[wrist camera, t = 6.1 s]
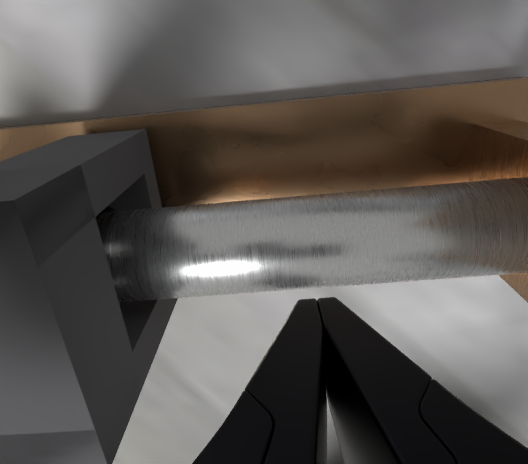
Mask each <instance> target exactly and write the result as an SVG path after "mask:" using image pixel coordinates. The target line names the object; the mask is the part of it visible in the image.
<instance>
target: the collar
mask: <svg viewBox="0 0 528 464" xmlns="http://www.w3.org/2000/svg"><path fill="white" fill-rule="evenodd" d="M107 206H109V207H112V208H113V209H115V210H116V211H128V210H139V209H151V208H162V205H161V200H160V195H159V190H158V185H157V180H156V176H155V171H154V166H153V161H152V156H151V151H150V146H149V141H148V136H147V132H146V129H139V130H129V131H118V132H108V133H97V134H87V135H76V136H68V137H65V138H62V139H60V140H57V141H54V142H52V143H49V144H46V145H43V146H41V147H38V148H35V149H33V150H30V151H27V152H25V153H22V154H19V155H16V156H14V157H11V158H8V159H6V160H3V161H0V464H112V463H113V460H114V458H115V455H116V453H117V450H118V447H119V445H120V442H121V440H122V437H123V435H124V432H125V430H126V427H127V425H128V422H129V420H130V417H131V415H132V412H133V410H134V407H135V405H136V402H137V400H138V397H139V395H140V392H141V389H142V387H143V384H144V382H145V379H146V377H147V374H148V372H149V369H150V367H151V364H152V362H153V359H154V357H155V354H156V352H157V349H158V347H159V344H160V342H161V339H162V337H163V334H164V332H165V329H166V326H167V324H168V321H169V319H170V316H171V314H172V311H173V309H174V306H175V304H176V301H177V299H178V298H169V299H155V300H141V301H128V302H122V303H121V304H120V305H119V301H118V298H117V294H116V290H115V287H114V283H113V279H112V276H111V272H110V268H109V265H108V261H107V258H106V254H105V250H104V247H103V243H102V239H101V236H100V232H99V229H98V225H97V221H96V218H95V217H96V216H97V215H98V214H99V213H100V212H101V211H103V210H104V209H105V208H106V207H107Z"/></svg>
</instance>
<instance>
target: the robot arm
mask: <svg viewBox="0 0 528 464" xmlns="http://www.w3.org/2000/svg"><path fill="white" fill-rule="evenodd" d="M326 393H327V396H326ZM327 399H328V403H329V407H330V411H331V415H332V419H333V422H334V426H335V430H336V434H337V437H338V441H339V445H340V449H341V452H342V456H343V460H344V464H528V448H527V447H525V446H524V445H522V444H521V443H519V442H518V441H516V440H515V439H514V438H512V437H511V436H509V435H508V434H506V433H505V432H503V431H502V430H500V429H499V428H498V427H496V426H495V425H493V424H492V423H491V422H489V421H488V420H486V419H485V418H484V417H482V416H481V415H479V414H478V413H477V412H475V411H474V410H472V409H471V408H470V407H468V406H467V405H466V404H465V403H463V402H462V401H461V400H460V399H458V398H457V397H456V396H454V395H453V394H452V393H451V392H449V391H448V390H447V389H446V388H444V387H443V386H442V385H441V384H440V383H438V382H437V381H436V380H434V379H432V377H431V376H430V375H429V374H427V373H426V372H425V371H424V370H423V369H421V368H420V367H419V366H418V365H416V364H415V363H414V362H413V361H412V360H410V359H409V358H408V357H407V356H406V355H404V354H403V353H402V352H401V351H400V350H398V349H397V348H396V347H395V346H394V345H392V344H391V343H390V342H389V341H388V340H386V339H385V338H384V337H383V336H381V335H380V334H379V333H378V332H377V331H375V330H374V329H373V328H372V327H371V326H369V325H368V324H367V323H366V322H365V321H363V320H362V319H361V318H360V317H359V316H357V315H356V314H355V313H354V312H353V311H351V310H350V309H349V308H348V307H346V306H345V305H344V304H343V303H342V302H340V301H339V300H338V299H337V298H335V297H329V298H319V299H318V300H317V301H316V299H302V300H298V301H297V303H296V305H295V306H294V308H293V310H292V311H291V313H290V315H289V316H288V318H287V320H286V321H285V323H284V325H283V326H282V328H281V330H280V331H279V333H278V335H277V336H276V338H275V340H274V341H273V343H272V345H271V346H270V348H269V350H268V351H267V353H266V355H265V356H264V358H263V360H262V361H261V363H260V365H259V366H258V368H257V370H256V371H255V373H254V375H253V376H252V378H251V380H250V381H249V383H248V385H247V386H246V388H245V391H244V392H243V393H242V394H241V396H240V398H239V399H238V401H237V403H236V405H235V406H234V408H233V409H232V411H231V412H230V414H229V415H228V417H227V418H226V420H225V421H224V423H223V424H222V426H221V427H220V428H219V430H218V431H217V432H216V434H215V435H214V436H213V438H212V439H211V440H210V442H209V443H208V444H207V446H206V447H205V448H204V449H203V451H202V452H201V453H200V454H199V456H198V457H197V458H196V459H195V461H194V462H193V463H192V464H327Z"/></svg>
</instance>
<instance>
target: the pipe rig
mask: <svg viewBox="0 0 528 464" xmlns="http://www.w3.org/2000/svg"><path fill="white" fill-rule="evenodd" d="M139 129H146V132H147V136H148V141H149V146H150V151H151V156H152V161H153V166H154V171H155V176H156V180H157V185H158V190H159V195H160V200H161V205H162V208H151V209H139V210H128V211H116V210H115V209H113V208H112V207H109V206H107V207H106V208H105V209H104V210H103V211H101V212H100V213H99V214H98V215H97V216H96V217H95V218H96V221H97V225H98V229H99V232H100V236H101V239H102V243H103V247H104V250H105V254H106V258H107V261H108V265H109V268H110V272H111V276H112V279H113V283H114V287H115V290H116V294H117V298H118V301H119V305H120V304H121V303H122V302H128V301H141V300H155V299H169V298H183V297H197V296H211V295H225V294H239V293H253V292H267V291H281V290H295V289H309V288H322V287H336V286H350V285H364V284H378V283H392V282H406V281H420V280H434V279H448V278H462V277H476V276H490V275H499V276H500V277H501V278H502V279H503V280H505V281H506V282H507V283H508V284H509V285H510V286H511V287H512V288H513V289H514V290H515V291H516V292H517V293H518V294H519V295H520V296H521V297H522V298H524V299H525V300H526V301H527V302H528V77H519V78H509V79H498V80H488V81H478V82H467V83H457V84H447V85H436V86H426V87H416V88H406V89H395V90H385V91H375V92H364V93H354V94H344V95H333V96H323V97H313V98H302V99H292V100H282V101H272V102H261V103H251V104H241V105H230V106H220V107H210V108H199V109H189V110H179V111H168V112H158V113H148V114H138V115H127V116H117V117H107V118H96V119H86V120H76V121H65V122H55V123H45V124H35V125H24V126H14V127H4V128H0V161H3V160H6V159H8V158H11V157H14V156H16V155H19V154H22V153H25V152H27V151H30V150H33V149H35V148H38V147H41V146H43V145H46V144H49V143H52V142H54V141H57V140H60V139H62V138H65V137H68V136H76V135H87V134H97V133H108V132H118V131H129V130H139Z"/></svg>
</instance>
